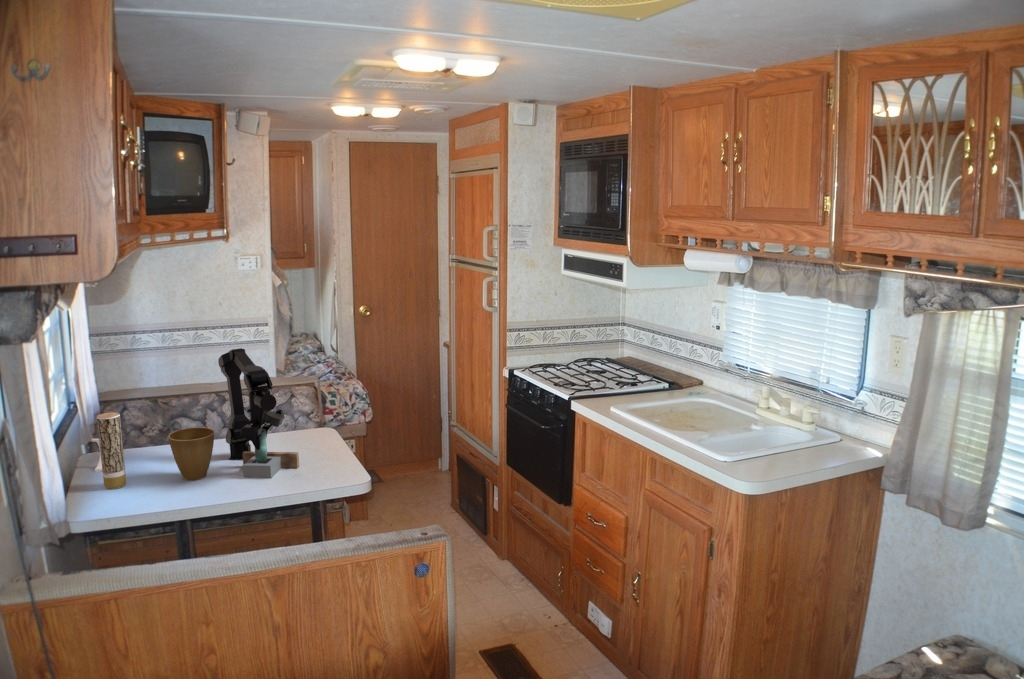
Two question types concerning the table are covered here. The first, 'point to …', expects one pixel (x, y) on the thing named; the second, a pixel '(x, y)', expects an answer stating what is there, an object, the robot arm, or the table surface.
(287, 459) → the backstop wall
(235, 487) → the table surface
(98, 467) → the headphone stand
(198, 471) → the plant pot
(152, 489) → the table surface
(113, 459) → the brown bark cylinder
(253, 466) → the socket block
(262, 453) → the dowel
